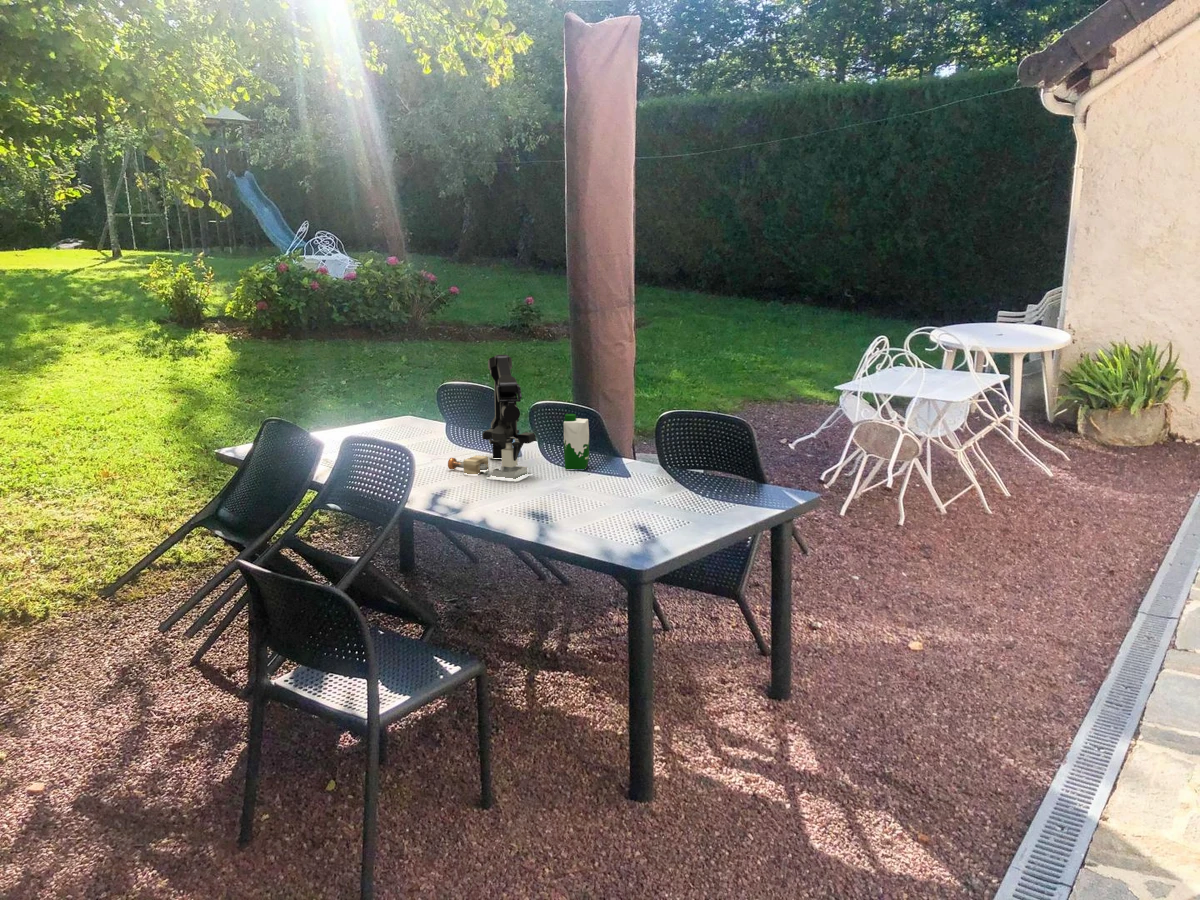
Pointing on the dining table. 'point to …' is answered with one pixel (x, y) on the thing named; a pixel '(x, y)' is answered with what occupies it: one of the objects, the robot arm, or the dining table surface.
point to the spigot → (508, 456)
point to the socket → (510, 472)
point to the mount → (474, 464)
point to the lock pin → (461, 464)
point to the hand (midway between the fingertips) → (509, 460)
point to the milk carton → (576, 442)
